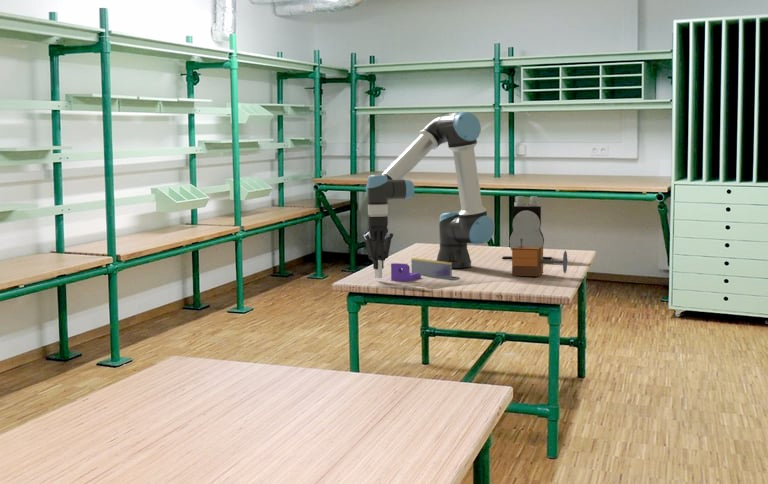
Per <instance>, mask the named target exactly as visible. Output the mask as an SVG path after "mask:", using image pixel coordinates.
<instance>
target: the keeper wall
mask: <svg viewBox="0 0 768 484" xmlns="http://www.w3.org/2000/svg"><path fill="white" fill-rule="evenodd" d="M452 269H453V268H452V263H451V262H443V261H436V260H433V259H426V258H417V257H411V273H419V274H420V275H421V277H422V276H423V277H427V278H433V279H442V280H447V281H452V280H453V281H454V280H460V279H461V277H459V276H453V270H452Z"/></svg>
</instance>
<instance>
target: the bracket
mask: <svg viewBox="0 0 768 484" xmlns="http://www.w3.org/2000/svg"><path fill="white" fill-rule="evenodd" d="M410 270H411V268H410V265H409V264H408V263H400V262H399V263H398V262H397V263H396V262H395V263H394V262H393V263H390V281H392V282H407V283H408V282H411V281H414V280H418V279H421V278H422V275H420V274H419V273H412V272H411V271H410Z"/></svg>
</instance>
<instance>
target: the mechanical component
mask: <svg viewBox="0 0 768 484" xmlns="http://www.w3.org/2000/svg"><path fill="white" fill-rule="evenodd" d="M515 198H516V199H515V201H516V202H514V203H513V204H514V205H513V206H512V229H513V230H512V233H511V235H510V237H509V247H510V250H511V251H512V248H514V247H517V246H521V241H520V239H523V241H522V246H537V247H543V248H544V245H545V244H544V243H545V237H544V234H543V232H542V231H541V227H542V206H541V204H540V203H541V202H539V201H538V200H539V199H538V196H537V195H535V196H534V195H532V196H530V201H529V202H528V203H526V202H525V201H524V199H525V197H524V196H523V195H522V196H521V195H518V196H516V197H515ZM526 204H527V205H526ZM502 259H512V255H511V256H508V255H507V256H504V255H503V256H502V257H501V260H502ZM543 259H550V260H551V259H552V260H553V257H552V256H543Z"/></svg>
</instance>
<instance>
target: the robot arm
mask: <svg viewBox="0 0 768 484" xmlns="http://www.w3.org/2000/svg"><path fill="white" fill-rule="evenodd" d="M481 131H482V126H481V121H480V120H479V118H478V117H477V115H475V114H474V113H472V112H469V111H457V112H456V111H455V112H450V113H448V112H446V113H442V114H439V115H437V116H436V117H435V118H433V119H432V120H431V121H429V122H428V123H427V124H426V125H425V126H424V127H423V128H422V129H421V130H420V131H419V132H418V137H416V138H415V140H414V141H412V143H411V144H410V145H409V146H408V147H407V148H406V149H405V150H404V151H403V152H402V153H401V154H400V155H399V156H398V157H397V158H396V159H395V160H394V161H393V162H392V163H391V164H390V165H389V166H388V167H387V169H385V170H384V171H383V172H382V173H381V174H370V175H368V176H367V184H366V185H365V192H366V195H367V215H368V217H367V225H368V230H367V232H366V234H365V233H364V234H363V235H362V238H363V240H364V242H365V248H366V252H367V257H368V259H369V260H371V261H372V263H373V265H372V268H373V270H374V278H376V279H383V269H384V263H385V262H384V261H386V260H387V259H388V258H389V253H390V248H391V243H392V239H393V236H394V233H391V232H390V231H389V228H388V225H389V222H388V220H389V217H388V216H387V215H388V214H389V206H388V205H389V204H388V200H410V199H411V198H413V196H414V194H415V183H414V182H413V181H411V180H410V179H404V178H405V177H406V176H408V174H410V173H411V171H413V170H414V169H415V167H417V165H418V164H419V163H420V162H421V161H422V160H423V159H424V158H425V157H426V156H427V155H428V154H429V153H430V152H431V151H432V150H436V149H437V148H438V147H439V146H441V145H442V144H445V143H447V144H448V146H447V147H448V149H450V150H451V151H452V154H453V161H454V166H455V174H456V175H455V176H456V183H457V189H458V195H459V201H460V208H461V209H460V210H459V211H451V212H443V213H441V214H440V215H439V222H438V225H439V228H438V229H439V230H438V231H439V250H438V253H437V257H436V259H435V261H443V262H451V263H452V269H462V268H464V269H465V268H470V267H472V259H471V258H470V254H469V253H470V252H469V250H468V244H472V245H483V244H487V243H488V242H489V241H490V240H491V239H492V237H493V236H494V232H495V230H496V229H495V222H494V220H493V218H491V217H490V216H488V212H487V209H486V208H485V207H484V206H483V204H482V203H483V201H482V196H481V195H482V194H481V188H480V182H479V174H478V168H477V159H476V153H475V147H476V146H477V144H478V141H477V140H478V138H480V134H481Z"/></svg>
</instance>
